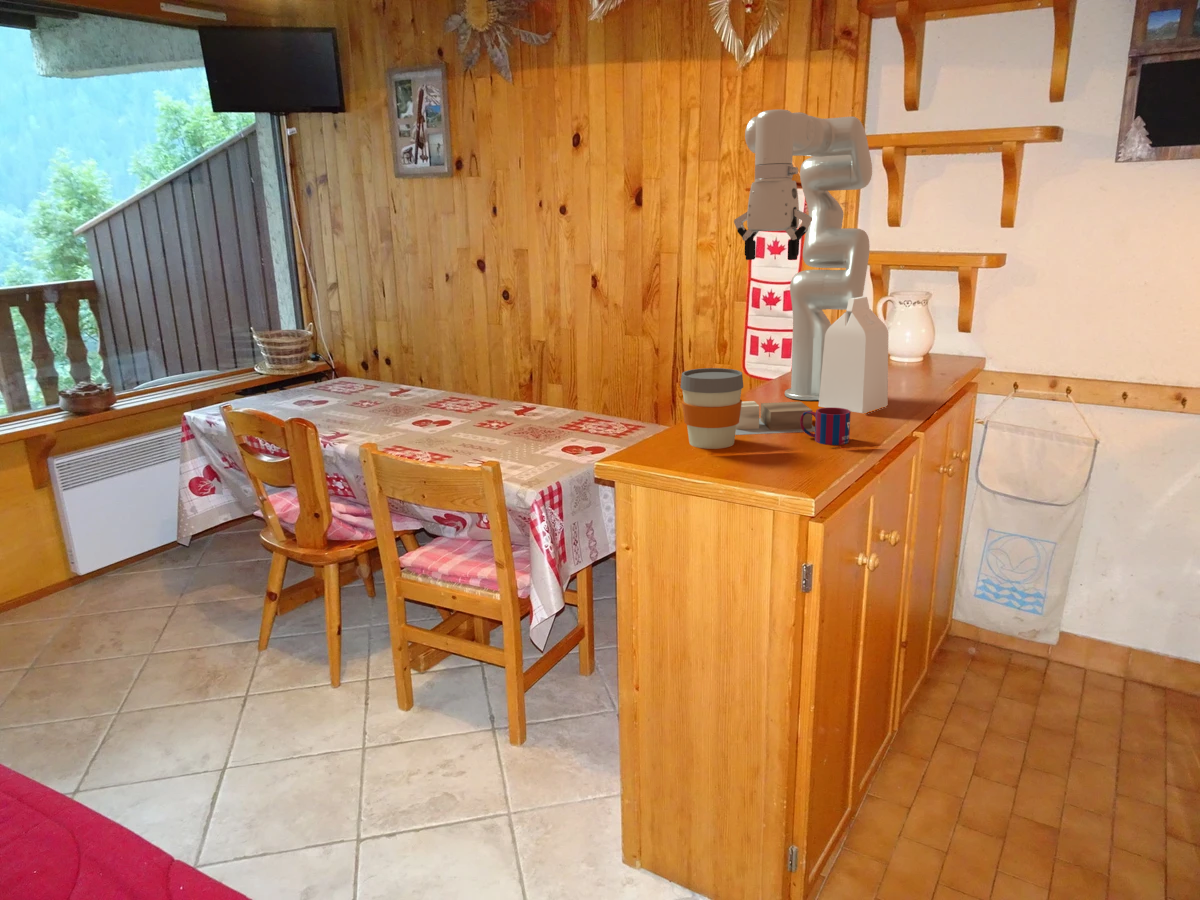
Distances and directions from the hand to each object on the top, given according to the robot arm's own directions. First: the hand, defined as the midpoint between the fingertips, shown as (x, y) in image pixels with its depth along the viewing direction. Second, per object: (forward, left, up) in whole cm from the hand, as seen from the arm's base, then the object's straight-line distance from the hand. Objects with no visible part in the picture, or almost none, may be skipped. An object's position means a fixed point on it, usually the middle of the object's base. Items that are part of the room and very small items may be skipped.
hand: (771, 259), depth 179 cm
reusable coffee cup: (+15, -15, -36) cm, 42 cm away
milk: (-14, +24, -36) cm, 46 cm away
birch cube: (+2, -6, -35) cm, 36 cm away
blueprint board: (+2, 0, -36) cm, 36 cm away
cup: (+16, +8, -36) cm, 40 cm away
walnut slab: (+2, +3, -35) cm, 36 cm away
